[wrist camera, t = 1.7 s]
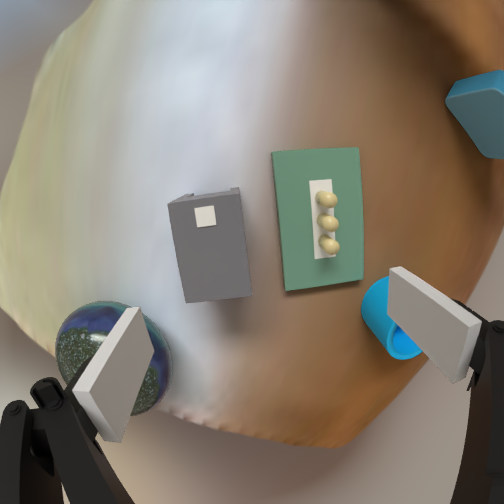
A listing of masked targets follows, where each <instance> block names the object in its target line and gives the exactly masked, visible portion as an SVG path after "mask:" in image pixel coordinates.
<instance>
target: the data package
mask: <svg viewBox="0 0 504 504" xmlns="http://www.w3.org/2000/svg"><path fill="white" fill-rule="evenodd" d="M445 104H446V106H447V107H448V109H449V110H450V111H451V112H452V114H453V115H454V116H455V118H456V119H457V120H458V121H459V123H460V124H461V125H462V127H463V128H464V130H465V131H466V132H467V134H468V135H469V137H470V138H471V139H472V141H473V142H474V144H475V145H476V147H477V148H478V150H479V151H480V152H481V153H482V154H483V155H484V156H485V157H487V158H494V159H504V71H502V70H496V71H492V72H488V73H484V74H480V75H476V76H472V77H469V78H465V79H461V80H458V81H456V82H455V83H454V85H453V87H452V88H451V90H450V92H449V94H448V95H447V97H446V99H445Z"/></svg>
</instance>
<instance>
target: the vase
mask: <svg viewBox="0 0 504 504" xmlns="http://www.w3.org/2000/svg"><path fill="white" fill-rule="evenodd" d="M127 308H133V307H130V306H128V305H126V304H122V303H119V302H113V301H97V302H92V303H89V304H86V305H84V306H82V307H80V308H78V309H77V310H75V311H74V312H72V313H71V314H70V315H69V316H68V317H67V318H66V319H65V321H64V322H63V323H62V325H61V327H60V329H59V331H58V334H57V338H56V343H55V355H56V362H57V366H58V369H59V371H60V373H61V376H62V378H63V380H64V381H65V383H66V384H67V385H68V384H69V382H70V381H71V379H72V378H73V377H74V375H75V373H76V372H77V371H78V369H79V367H80V366H81V364H82V363H83V362H84V361H85V360H87V359H88V358H89V357H94V355H95V354H96V352H97V351H98V349H99V348H100V346H101V345H102V343H103V342H104V340H105V339H106V337H107V336H108V334H109V333H110V332H111V330H112V329H113V327H114V326H115V324H116V323H117V321H118V320H119V319H120V317H121V316H122V314H123V313H124V312H125V310H126V309H127ZM142 315H143V318H144V321H145V324H146V328H147V331H148V334H149V337H150V340H151V342H152V345H153V348H154V353H153V356H152V358H151V361H150V364H149V366H148V369H147V371H146V374H145V377H144V379H143V382H142V384H141V387H140V390H139V392H138V395H137V398H136V401H135V403H134V406H133V409H132V412H131V415H130V416H136V415H139V414H142V413H145V412H147V411H149V410H151V409H152V408H154V407H155V406H156V405H157V404H158V403H160V402H161V400H162V399H163V397H164V396H165V394H166V393H167V391H168V388H169V386H170V383H171V377H172V358H171V354H170V349H169V347H168V345H167V342H166V340H165V338H164V336H163V334H162V333H161V331H160V330H159V329H158V327H157V326H156V325H155V324H154V323H153V322H152V321H151V320H150V319H149V318H148V317H147V316H145V315H144V314H143V313H142Z"/></svg>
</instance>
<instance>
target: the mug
mask: <svg viewBox="0 0 504 504" xmlns="http://www.w3.org/2000/svg"><path fill="white" fill-rule="evenodd" d="M388 291H389V276H387V277H385V278H382V279H380V280H378V281H377V282H376V283H375V284H373V285H372V286H371V287H370V289H369V290H368V291H367V292H366V294H365V296H364V299H363V301H362V306H361V313H362V318H363V319H364V321H365V323H366V324H367V325H368V327H369V328H370V329H371V330H372V332H373V333H374V334H375V336H376V337H377V338H378V339H379V341H380V342H381V343H382V345H383V346H384V347H385V349H386V350H387V351H388V352H389V354H390V355H391V356H392V357H394V358H396V359H401V360H405V359H410V358H413V357H415V356H417V355H419V354H420V353H421V352H423V351H422V350H421V349H420V348H419V347H418V346H417V345H416V343H415V342H414V341H413V340H412V339H411V338H410V337H409V336H408V335H407V334H406V333H405V332H404V331H403V330H402V329H401V328H400V327H399V326H398V325H397V324H396V323H395V322H394V321H393V320H392V319H391V318H390V317H389V316H388V315H387V308H388Z"/></svg>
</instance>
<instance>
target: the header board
mask: <svg viewBox="0 0 504 504" xmlns="http://www.w3.org/2000/svg"><path fill="white" fill-rule="evenodd" d="M271 156H272V165H273V174H274V184H275V194H276V203H277V214H278V224H279V235H280V246H281V257H282V269H283V281H284V288H285V291H289V290H296V289H303V288H310V287H317V286H324V285H330V284H337V283H343V282H349V281H355V280H361V279H363V271H364V232H363V201H362V184H361V170H360V158H359V148H358V147H354V148H322V149H304V150H289V151H277V152H271Z"/></svg>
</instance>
